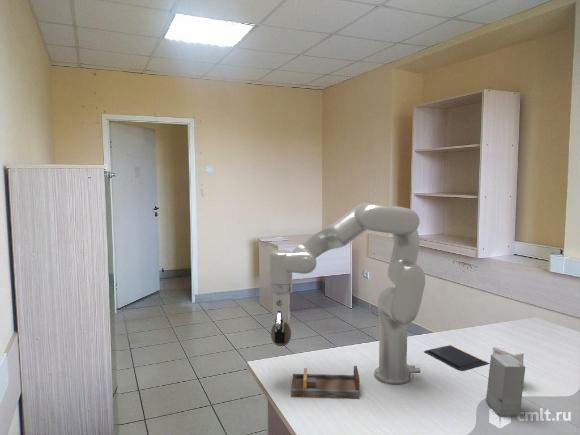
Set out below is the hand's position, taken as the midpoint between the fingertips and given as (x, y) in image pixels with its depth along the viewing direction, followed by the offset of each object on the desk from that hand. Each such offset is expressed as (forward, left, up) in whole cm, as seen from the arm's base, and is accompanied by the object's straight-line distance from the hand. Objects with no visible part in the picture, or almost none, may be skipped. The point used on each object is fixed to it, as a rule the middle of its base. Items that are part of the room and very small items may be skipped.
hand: (281, 338), depth 147 cm
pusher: (-10, +3, -15) cm, 18 cm away
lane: (-15, +3, -16) cm, 22 cm away
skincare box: (-69, +13, -16) cm, 72 cm away
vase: (0, 0, -2) cm, 2 cm away
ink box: (-77, -4, -16) cm, 79 cm away
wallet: (-66, -24, -17) cm, 72 cm away
